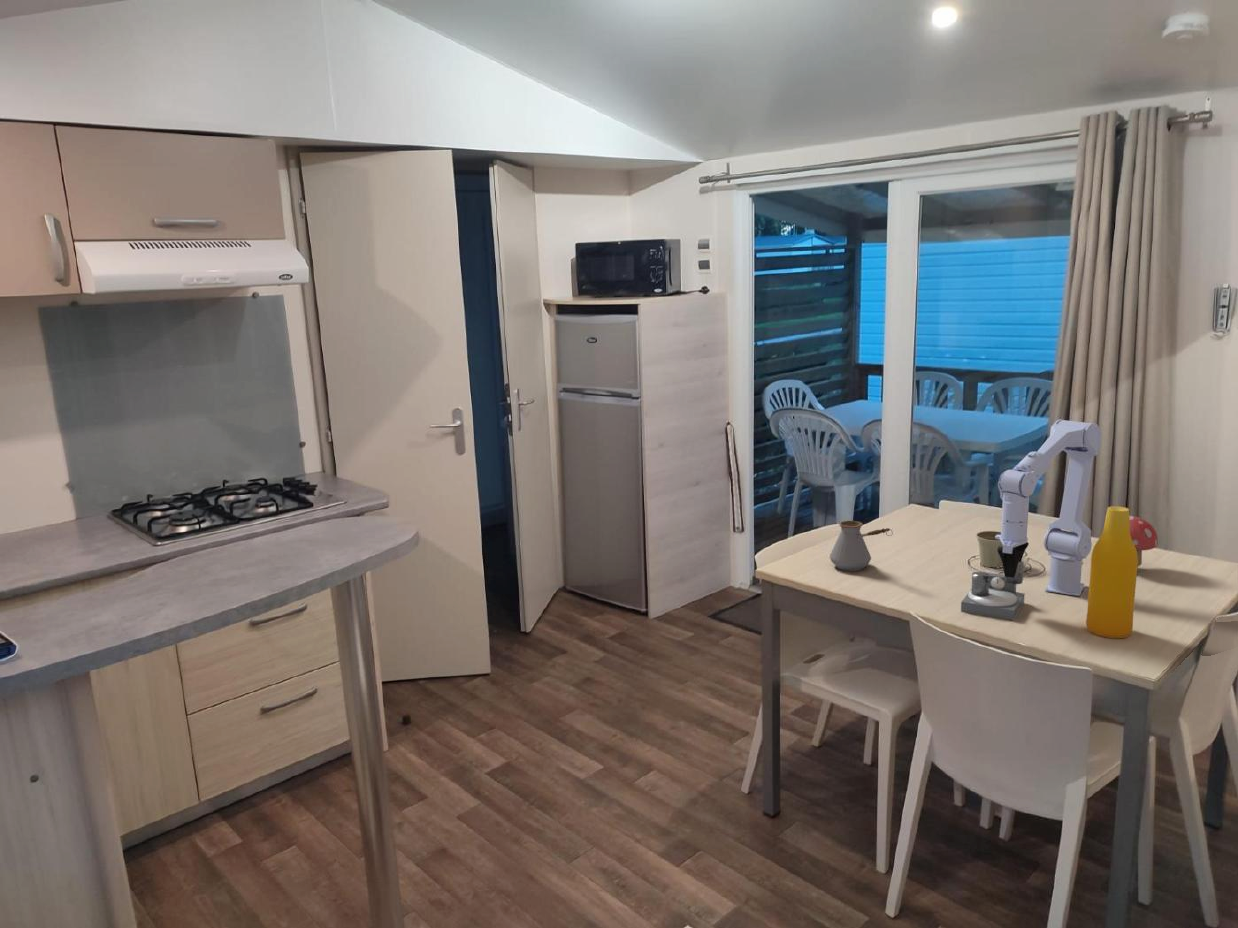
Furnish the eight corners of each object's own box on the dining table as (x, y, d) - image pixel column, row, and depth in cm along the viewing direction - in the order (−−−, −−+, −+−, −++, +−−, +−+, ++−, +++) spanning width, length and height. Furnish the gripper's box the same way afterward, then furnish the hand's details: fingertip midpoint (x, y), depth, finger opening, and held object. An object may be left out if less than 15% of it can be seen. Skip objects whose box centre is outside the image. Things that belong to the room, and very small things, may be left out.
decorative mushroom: (1096, 560, 247) (1100, 508, 244) (1151, 564, 242) (1155, 512, 239) (1101, 575, 235) (1106, 521, 232) (1159, 579, 230) (1164, 525, 227)
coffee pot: (821, 564, 253) (821, 514, 250) (852, 557, 258) (852, 508, 255) (872, 586, 234) (874, 532, 231) (905, 578, 239) (906, 525, 236)
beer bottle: (1119, 642, 194) (1130, 516, 188) (1077, 630, 201) (1086, 508, 195) (1139, 631, 199) (1150, 508, 193) (1097, 620, 206) (1107, 501, 200)
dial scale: (973, 594, 225) (974, 570, 224) (1024, 602, 219) (1025, 578, 217) (960, 611, 215) (962, 586, 214) (1013, 620, 208) (1014, 594, 207)
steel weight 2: (1004, 577, 215) (1006, 558, 214) (1022, 579, 213) (1024, 560, 212) (1003, 582, 211) (1005, 563, 210) (1022, 585, 210) (1023, 565, 208)
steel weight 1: (972, 590, 219) (973, 571, 218) (989, 591, 218) (990, 572, 217) (970, 595, 216) (971, 575, 215) (988, 597, 214) (989, 577, 213)
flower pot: (1001, 572, 241) (1002, 542, 239) (968, 565, 248) (969, 536, 246) (1016, 564, 247) (1018, 535, 245) (984, 557, 254) (985, 528, 252)
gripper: (1003, 510, 217) (1000, 562, 220) (990, 525, 206) (987, 580, 208) (1034, 514, 213) (1030, 567, 216) (1022, 529, 202) (1019, 584, 204)
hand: (1011, 573), depth 212 cm, fingers closed on steel weight 2, 4 cm apart
